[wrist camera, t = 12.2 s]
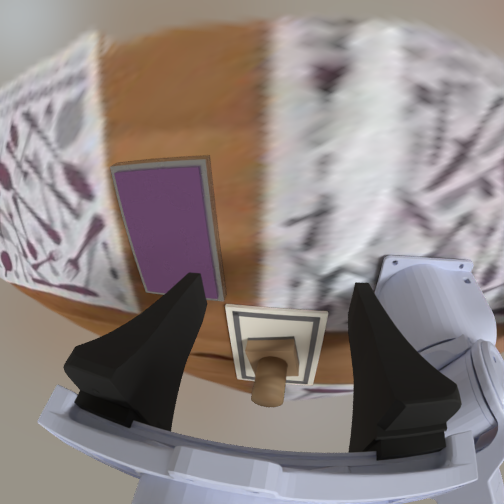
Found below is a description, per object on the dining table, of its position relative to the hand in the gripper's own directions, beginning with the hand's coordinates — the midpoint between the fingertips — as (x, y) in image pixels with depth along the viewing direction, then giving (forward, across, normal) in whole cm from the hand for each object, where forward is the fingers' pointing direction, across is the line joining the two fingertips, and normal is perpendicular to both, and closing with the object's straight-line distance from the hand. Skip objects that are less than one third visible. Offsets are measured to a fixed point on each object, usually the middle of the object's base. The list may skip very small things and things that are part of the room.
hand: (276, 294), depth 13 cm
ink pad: (+10, +10, +3) cm, 14 cm away
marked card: (+10, +1, +18) cm, 20 cm away
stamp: (+10, +1, +18) cm, 20 cm away
